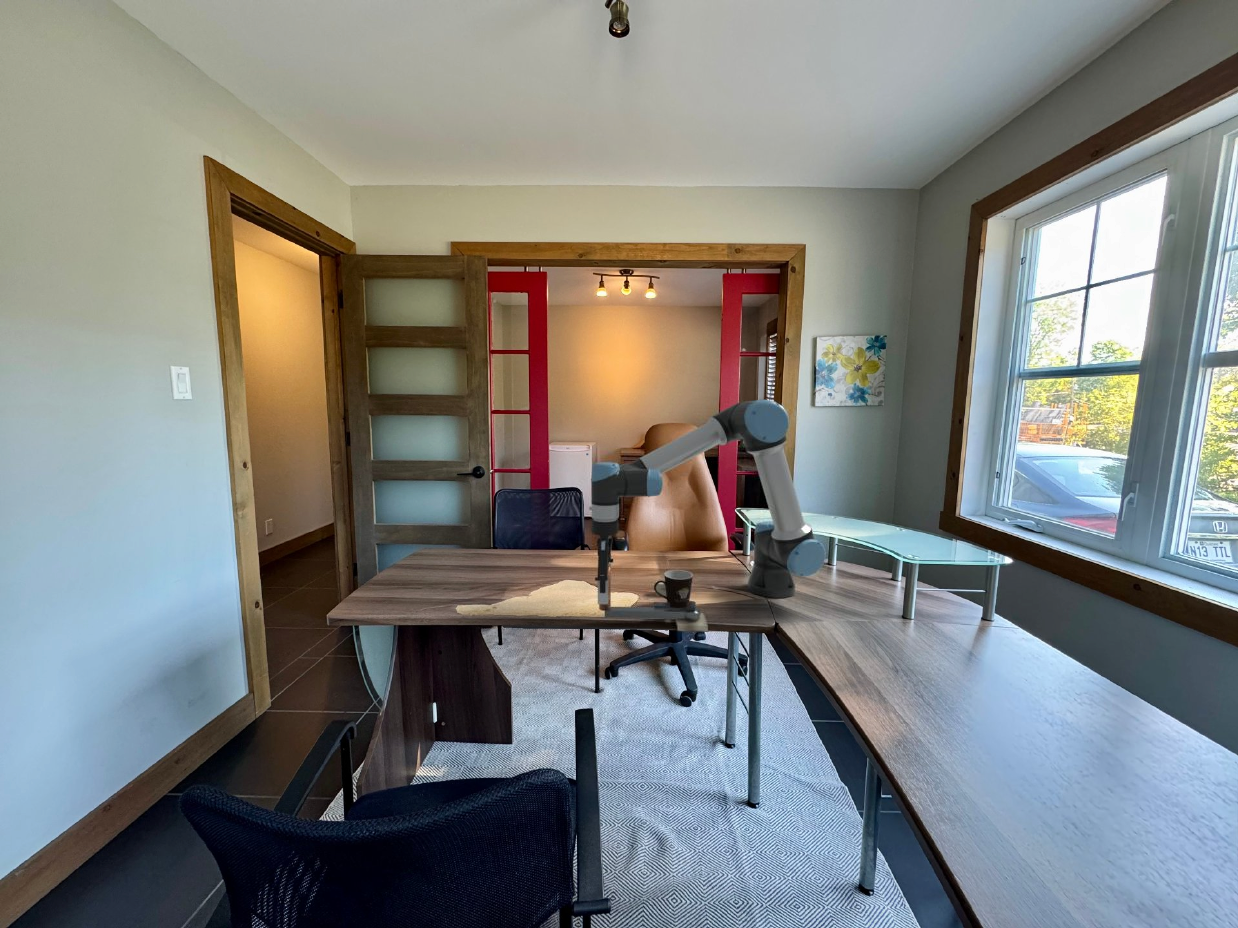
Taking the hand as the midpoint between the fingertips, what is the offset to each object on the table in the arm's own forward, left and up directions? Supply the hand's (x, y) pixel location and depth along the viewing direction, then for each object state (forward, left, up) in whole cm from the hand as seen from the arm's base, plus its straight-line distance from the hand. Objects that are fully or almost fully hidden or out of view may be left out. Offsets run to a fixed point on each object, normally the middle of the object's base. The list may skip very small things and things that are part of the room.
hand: (604, 594), depth 130 cm
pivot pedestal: (-24, 0, -8) cm, 25 cm away
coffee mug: (-20, -13, -9) cm, 25 cm away
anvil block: (-20, -22, -8) cm, 31 cm away
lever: (-13, -1, -7) cm, 14 cm away
